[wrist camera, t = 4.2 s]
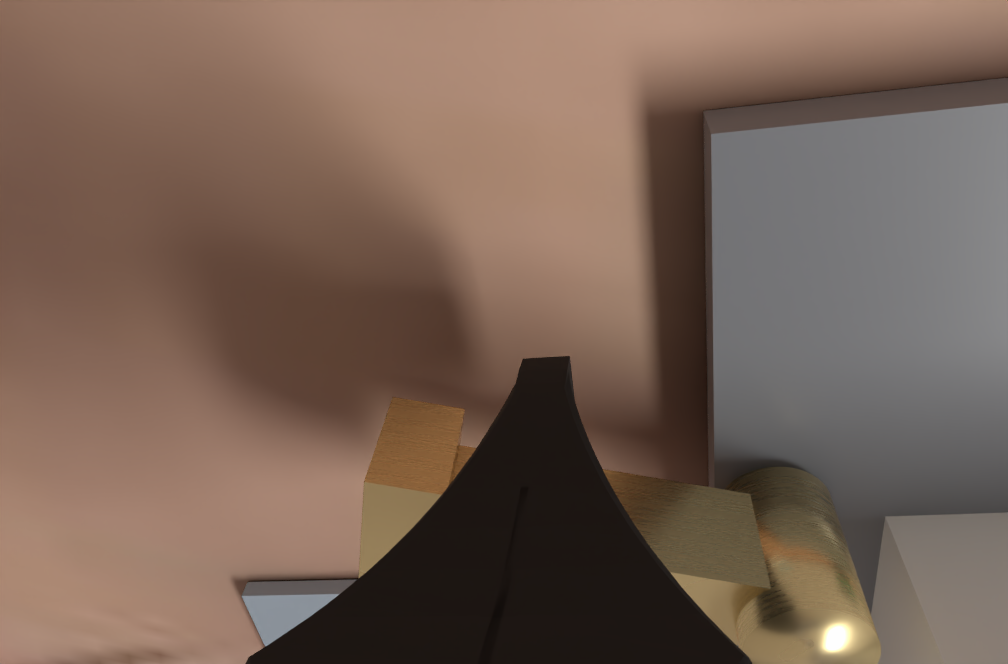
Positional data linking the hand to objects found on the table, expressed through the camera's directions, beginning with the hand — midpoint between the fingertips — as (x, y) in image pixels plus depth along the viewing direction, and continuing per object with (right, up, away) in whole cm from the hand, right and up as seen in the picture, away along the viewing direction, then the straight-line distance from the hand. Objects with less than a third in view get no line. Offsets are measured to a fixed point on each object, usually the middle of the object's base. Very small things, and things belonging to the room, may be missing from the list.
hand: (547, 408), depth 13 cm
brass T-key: (+1, -1, +2) cm, 3 cm away
